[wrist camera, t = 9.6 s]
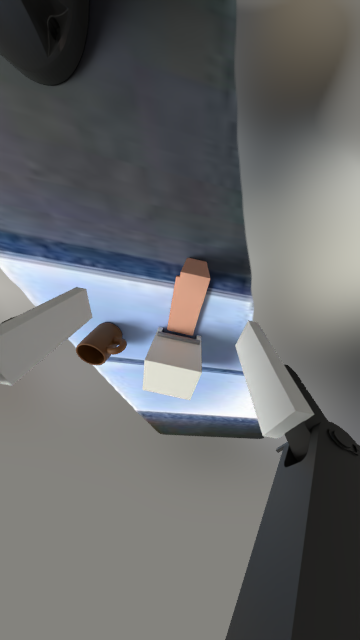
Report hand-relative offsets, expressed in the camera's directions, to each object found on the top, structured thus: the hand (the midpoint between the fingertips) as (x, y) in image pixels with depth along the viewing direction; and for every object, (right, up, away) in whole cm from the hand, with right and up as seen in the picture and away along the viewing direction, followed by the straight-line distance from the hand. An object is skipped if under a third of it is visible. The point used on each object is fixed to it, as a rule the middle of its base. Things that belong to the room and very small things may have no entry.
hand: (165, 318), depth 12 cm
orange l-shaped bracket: (+3, +5, +22) cm, 23 cm away
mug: (-17, -3, +30) cm, 35 cm away
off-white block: (0, -8, +31) cm, 32 cm away
